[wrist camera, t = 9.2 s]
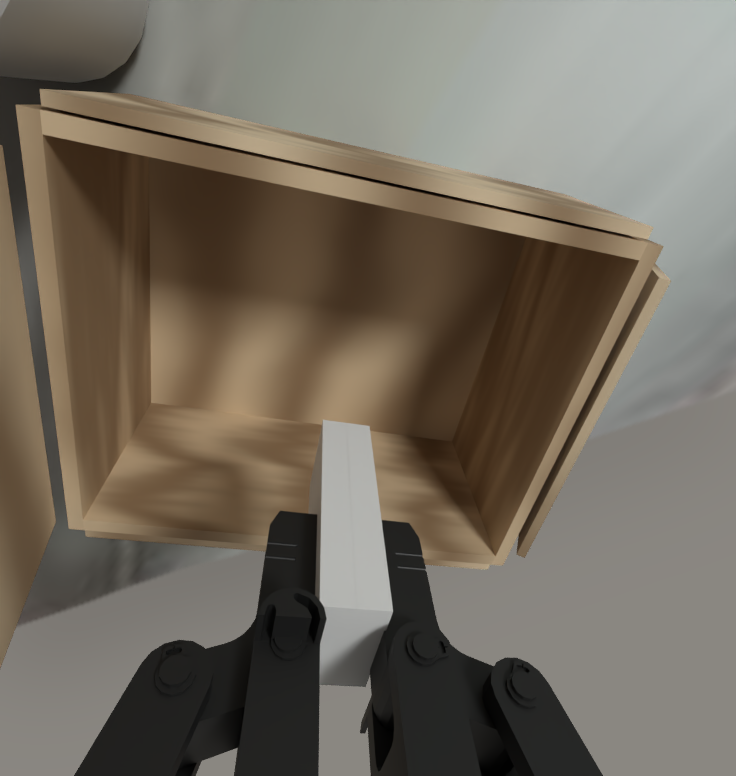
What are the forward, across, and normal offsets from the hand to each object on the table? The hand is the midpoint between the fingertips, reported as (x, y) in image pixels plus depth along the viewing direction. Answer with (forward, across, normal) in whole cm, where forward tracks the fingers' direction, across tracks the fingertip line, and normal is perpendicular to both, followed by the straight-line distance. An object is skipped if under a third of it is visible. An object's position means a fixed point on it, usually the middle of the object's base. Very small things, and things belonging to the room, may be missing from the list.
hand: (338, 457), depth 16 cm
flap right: (+7, +12, 0) cm, 14 cm away
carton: (+13, 0, 0) cm, 13 cm away
